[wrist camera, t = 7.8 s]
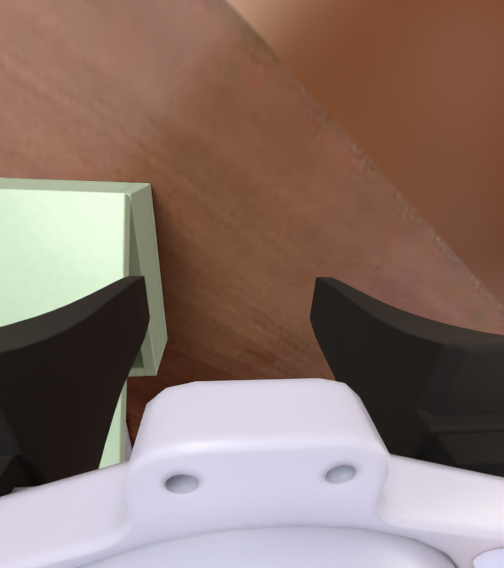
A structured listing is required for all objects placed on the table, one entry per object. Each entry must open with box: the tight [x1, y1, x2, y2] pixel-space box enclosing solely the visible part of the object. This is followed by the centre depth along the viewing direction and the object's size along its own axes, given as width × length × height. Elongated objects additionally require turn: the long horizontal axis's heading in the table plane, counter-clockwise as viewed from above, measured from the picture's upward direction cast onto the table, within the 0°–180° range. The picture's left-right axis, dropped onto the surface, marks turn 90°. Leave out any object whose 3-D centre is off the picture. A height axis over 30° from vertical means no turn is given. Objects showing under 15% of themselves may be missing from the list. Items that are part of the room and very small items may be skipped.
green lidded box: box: [0, 178, 167, 376], centre depth 19 cm, size 13×12×4 cm
